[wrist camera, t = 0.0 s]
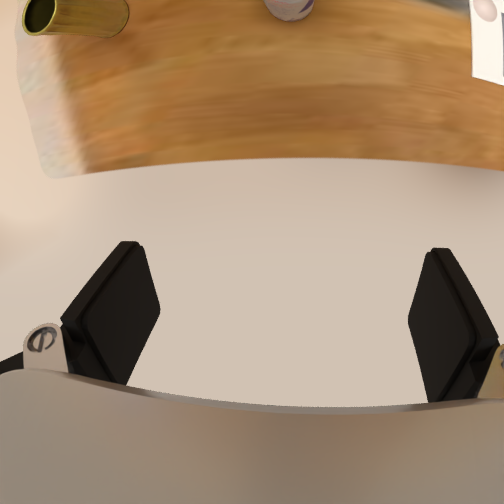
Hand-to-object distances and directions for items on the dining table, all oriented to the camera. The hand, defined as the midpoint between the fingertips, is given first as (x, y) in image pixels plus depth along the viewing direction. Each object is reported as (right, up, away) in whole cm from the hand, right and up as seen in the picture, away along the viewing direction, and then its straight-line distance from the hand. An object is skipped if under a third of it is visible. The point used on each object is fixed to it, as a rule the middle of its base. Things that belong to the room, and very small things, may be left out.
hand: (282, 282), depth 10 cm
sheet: (+33, +29, +14) cm, 46 cm away
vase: (-20, +32, +20) cm, 42 cm away
